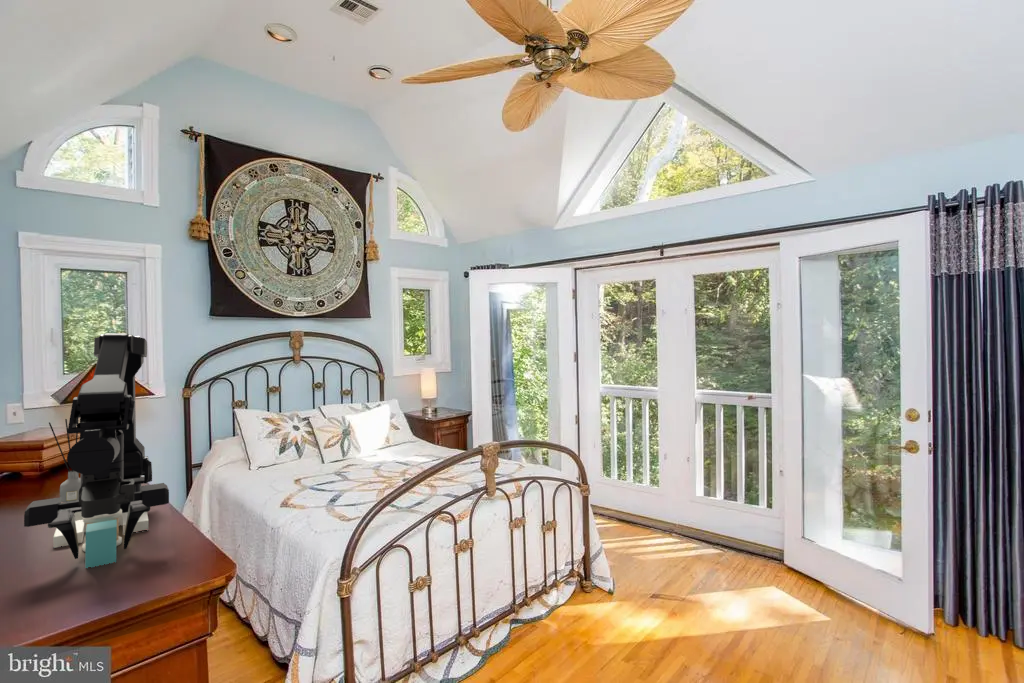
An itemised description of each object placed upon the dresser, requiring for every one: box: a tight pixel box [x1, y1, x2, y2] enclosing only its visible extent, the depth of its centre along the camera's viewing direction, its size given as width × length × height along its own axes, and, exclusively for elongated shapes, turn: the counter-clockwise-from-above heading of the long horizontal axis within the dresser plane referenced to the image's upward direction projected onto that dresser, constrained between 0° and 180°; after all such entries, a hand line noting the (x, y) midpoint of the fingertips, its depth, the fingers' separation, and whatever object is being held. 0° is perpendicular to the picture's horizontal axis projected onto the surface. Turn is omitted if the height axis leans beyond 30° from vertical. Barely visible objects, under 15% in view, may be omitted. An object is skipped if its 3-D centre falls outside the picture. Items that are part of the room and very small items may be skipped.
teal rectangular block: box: [84, 519, 117, 569], centre depth 85 cm, size 5×4×6 cm
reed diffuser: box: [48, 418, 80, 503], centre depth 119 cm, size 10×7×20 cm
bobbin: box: [81, 509, 123, 553], centre depth 91 cm, size 6×6×6 cm
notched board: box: [52, 512, 149, 549], centre depth 98 cm, size 9×14×2 cm, turn 129°
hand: (101, 553), depth 85 cm, fingers open, 6 cm apart
